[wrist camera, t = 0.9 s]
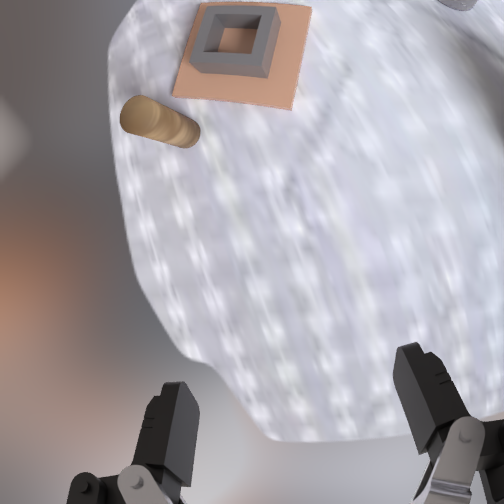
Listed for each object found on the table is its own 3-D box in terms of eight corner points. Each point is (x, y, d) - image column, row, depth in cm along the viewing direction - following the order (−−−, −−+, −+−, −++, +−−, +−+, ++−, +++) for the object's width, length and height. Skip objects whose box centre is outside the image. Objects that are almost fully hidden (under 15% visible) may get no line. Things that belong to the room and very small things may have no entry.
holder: (203, 6, 33) (190, -11, 29) (312, 10, 30) (309, -10, 26) (175, 97, 37) (157, 87, 32) (291, 110, 34) (286, 98, 29)
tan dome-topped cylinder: (176, 118, 37) (125, 95, 26) (203, 120, 37) (156, 95, 25) (170, 146, 38) (116, 132, 27) (196, 150, 38) (147, 134, 26)
